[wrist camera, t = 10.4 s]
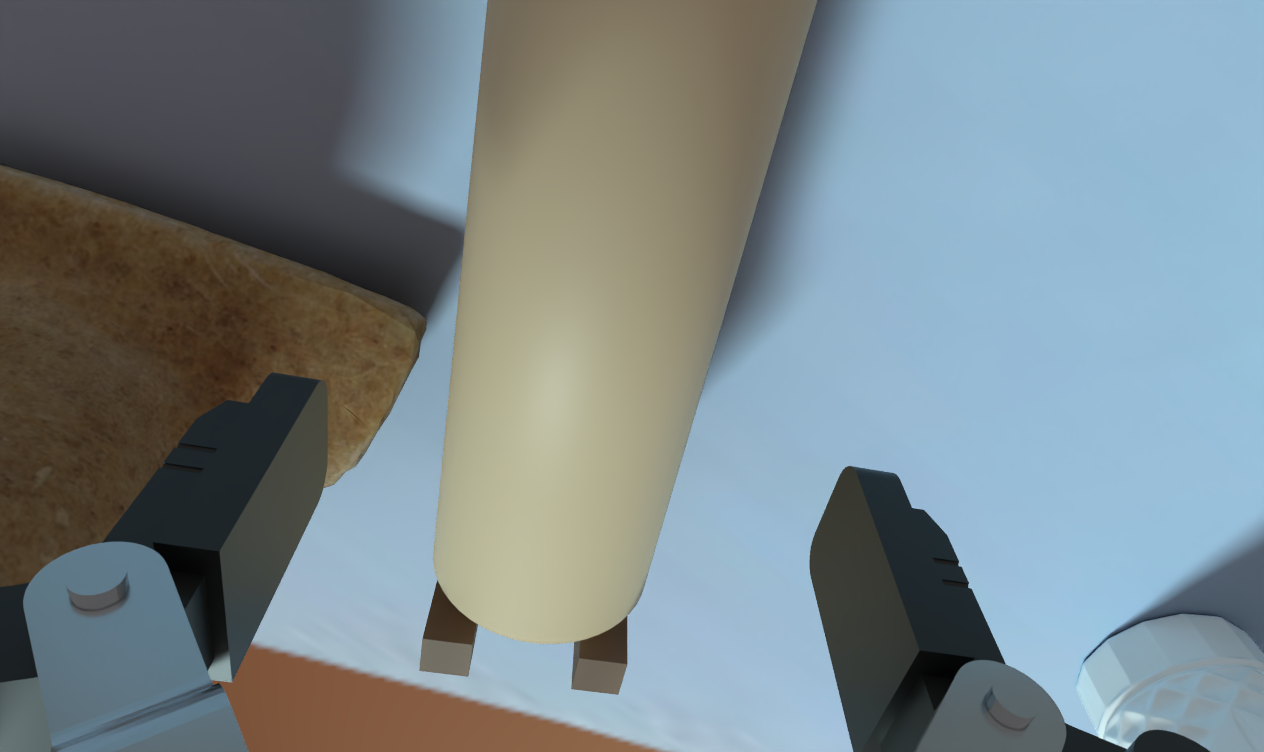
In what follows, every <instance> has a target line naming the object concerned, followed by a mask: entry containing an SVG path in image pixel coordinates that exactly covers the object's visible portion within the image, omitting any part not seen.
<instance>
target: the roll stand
mask: <svg viewBox="0 0 1264 752" xmlns="http://www.w3.org/2000/svg"><path fill="white" fill-rule="evenodd" d="M477 627H478V624H477V623H475V622H473V621H472V620H470V619H469V618H468V617H466V616H465V615H464V614H463V613H461V612H460V611H459V610H458V609H457V608H456V607H455V606H454V605H453V604H452V603H451V601H450V600H449V599H448V597H447V596H446V595H445V593H444V592H443V590H442V588H441V586H440V584H439V582H438V580H437V584H436V588H435V592H434V596H433V599H432V603H431V607H430V611H429V615H428V619H427V623H426V627H425V631H424V635H423V639H422V649H421V660H420V670H419V671H426V672H434V673H443V674H451V675H459V676H468V675H469V669H470V664H471V659H472V653H473V648H474V643H475V637H476V632H477ZM626 667H627V616H626V617H625V618H624V619H623V620H622V621H621V622H620V623H618V624H617V625H615V626H614V627H612V628H611V629H609V630H607V631H605V632H603V633H601V634H599V635H597V636H594V637H591V638H588V639H585V640H580V641H576V642H574V657H573V672H572V688H571V689H576V690H584V691H592V692H600V693H609V694H617V695H618V694H619V690H620V687H621V684H622V680H623V677H624V674H625V670H626Z"/></svg>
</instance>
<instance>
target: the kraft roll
mask: <svg viewBox="0 0 1264 752" xmlns="http://www.w3.org/2000/svg"><path fill="white" fill-rule="evenodd" d="M816 4H817V0H488V2H487V12H486V22H485V33H484V43H483V53H482V63H481V73H480V83H479V94H478V104H477V114H476V124H475V134H474V144H473V155H472V165H471V175H470V185H469V195H468V205H467V216H466V226H465V236H464V246H463V256H462V266H461V277H460V287H459V297H458V307H457V317H456V327H455V338H454V348H453V358H452V368H451V378H450V388H449V399H448V409H447V419H446V429H445V439H444V449H443V460H442V470H441V480H440V490H439V500H438V511H437V521H436V531H435V541H434V553H433V562H434V570H435V573H436V576H437V580H438V582H439V584H440V586H441V588H442V590H443V592H444V593H445V595H446V596H447V597H448V599H449V600H450V601H451V603H452V604H453V605H454V606H455V607H456V608H457V609H458V610H459V611H460V612H461V613H463V614H464V615H465V616H466V617H468V618H469V619H470V620H472V621H473V622H475V623H477V624H478V625H480V626H481V627H483V628H485V629H487V630H489V631H492V632H494V633H496V634H499V635H502V636H505V637H507V638H510V639H515V640H519V641H523V642H530V643H539V644H561V643H571V642H576V641H580V640H585V639H588V638H591V637H594V636H597V635H599V634H601V633H603V632H605V631H607V630H609V629H611V628H612V627H614V626H615V625H617V624H618V623H620V622H621V621H622V620H623V619H624V618H625V617H626V616H627V615H629V614H630V612H631V611H632V610H633V608H634V607H635V606H636V604H637V602H638V601H639V599H640V597H641V595H642V592H643V588H644V585H645V582H646V579H647V575H648V572H649V568H650V565H651V562H652V558H653V555H654V552H655V548H656V545H657V541H658V538H659V535H660V531H661V528H662V524H663V521H664V518H665V514H666V511H667V508H668V504H669V501H670V497H671V494H672V491H673V487H674V484H675V481H676V477H677V474H678V470H679V467H680V464H681V460H682V457H683V453H684V450H685V447H686V443H687V440H688V437H689V433H690V430H691V426H692V423H693V420H694V416H695V413H696V410H697V406H698V403H699V399H700V396H701V393H702V389H703V386H704V382H705V379H706V376H707V372H708V369H709V366H710V362H711V359H712V355H713V352H714V349H715V345H716V342H717V338H718V335H719V332H720V328H721V325H722V322H723V318H724V315H725V311H726V308H727V305H728V301H729V298H730V295H731V291H732V288H733V284H734V281H735V278H736V274H737V271H738V267H739V264H740V261H741V257H742V254H743V251H744V247H745V244H746V240H747V237H748V234H749V230H750V227H751V224H752V220H753V217H754V213H755V210H756V207H757V203H758V200H759V196H760V193H761V190H762V186H763V183H764V180H765V176H766V173H767V169H768V166H769V163H770V159H771V156H772V153H773V149H774V146H775V142H776V139H777V136H778V132H779V129H780V125H781V122H782V119H783V115H784V112H785V109H786V105H787V102H788V98H789V95H790V92H791V88H792V85H793V82H794V78H795V75H796V71H797V68H798V65H799V61H800V58H801V54H802V51H803V48H804V44H805V41H806V38H807V34H808V31H809V27H810V24H811V21H812V17H813V14H814V11H815V7H816Z"/></svg>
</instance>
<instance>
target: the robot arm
mask: <svg viewBox="0 0 1264 752" xmlns="http://www.w3.org/2000/svg"><path fill="white" fill-rule="evenodd" d="M327 462H328V392H327V385H326V382H325V381H324V380H318V379H312V378H306V377H299V376H293V375H287V374H281V373H274V372H272V373H270V374H269V375H268V376H267V377H266V379H265V380H264V382H263V383H262V385H261V386H260V388H259V389H258V390H257V392H256V393H255V395H254V396H253V398H252V399H251V401H250V402H249V403H245V402H238V401H232V400H226V401H225V402H223V403H221V404H220V405H218V406H216V407H215V408H213V409H211V410H210V411H208V412H206V413H205V414H203V415H202V416H200V417H198V418H197V419H196V420H195V421H194V423H193V424H192V425H191V426H190V428H189V429H188V430H187V432H186V433H185V434H184V436H183V437H182V438H181V440H180V441H179V442H178V447H177V448H175V447H174V449H173V450H172V451H171V453H170V454H169V455H168V457H167V458H166V459H165V461H164V462H163V466H162V468H158V470H157V471H156V472H155V474H154V475H153V476H152V478H151V479H150V480H149V482H148V483H147V484H146V485H145V487H144V488H143V489H142V491H141V492H140V493H139V495H138V496H137V497H136V499H135V500H134V501H133V502H132V504H131V505H130V506H129V508H128V509H127V510H126V512H125V513H124V514H123V516H122V517H121V518H120V520H119V521H118V522H117V523H116V525H115V526H114V527H113V529H112V530H111V531H110V533H109V534H108V535H107V537H106V538H105V539H104V541H103V542H102V543H97V544H93V545H88V546H85V547H82V548H78V549H75V550H73V551H71V552H68V553H66V554H64V555H62V556H60V557H58V558H57V559H55V560H53V561H52V562H50V563H49V564H48V565H46V566H45V567H44V568H42V569H41V570H40V571H39V572H38V573H37V574H36V575H35V576H34V578H33V579H32V580H31V582H29V583H25V584H19V585H12V586H4V587H0V752H249V751H248V748H247V746H246V743H245V741H244V738H243V736H242V733H241V730H240V728H239V726H238V723H237V720H236V718H235V715H234V712H233V710H232V707H231V705H230V702H229V700H228V697H227V695H226V693H225V691H224V689H223V687H222V686H221V685H220V684H219V683H218V684H216V685H213V683H212V681H211V680H217V681H225V682H232V681H233V679H234V677H235V675H236V673H237V671H238V669H239V666H240V664H241V663H242V660H243V658H244V656H245V654H246V652H247V650H248V648H249V646H250V644H251V642H252V640H253V638H254V636H255V633H256V631H257V629H258V627H259V625H260V623H261V621H262V619H263V617H264V615H265V613H266V611H267V608H268V606H269V604H270V602H271V600H272V598H273V596H274V594H275V592H276V590H277V588H278V586H279V583H280V581H281V579H282V577H283V575H284V573H285V571H286V569H287V567H288V565H289V563H290V560H291V558H292V556H293V554H294V552H295V550H296V548H297V546H298V544H299V542H300V540H301V538H302V535H303V533H304V531H305V529H306V527H307V525H308V523H309V521H310V519H311V517H312V515H313V513H314V510H315V508H316V506H317V504H318V502H319V500H320V497H321V494H322V491H323V487H324V483H325V478H326V472H327ZM958 563H959V560H958V558H957V556H956V554H955V552H954V549H953V547H952V545H951V543H950V541H949V538H948V536H947V535H946V534H945V532H944V531H943V530H942V529H941V528H940V527H939V526H938V525H937V524H936V523H935V522H934V520H933V519H932V518H931V517H930V516H929V515H928V514H927V513H926V512H925V511H924V510H921V509H914V508H912V507H911V505H910V502H909V500H908V497H907V495H906V493H905V490H904V488H903V486H902V483H901V481H900V479H899V477H898V476H897V475H896V474H895V473H889V472H883V471H877V470H871V469H865V468H858V467H852V466H848V467H846V468H845V469H844V470H843V471H842V473H841V474H840V476H839V479H838V481H837V483H836V486H835V488H834V490H833V493H832V495H831V497H830V500H829V502H828V504H827V507H826V509H825V511H824V514H823V516H822V518H821V521H820V523H819V525H818V528H817V530H816V532H815V535H814V538H813V541H812V545H811V551H810V574H811V579H812V583H813V587H814V591H815V596H816V600H817V604H818V608H819V612H820V616H821V620H822V624H823V628H824V633H825V637H826V641H827V645H828V649H829V653H830V657H831V661H832V665H833V670H834V674H835V678H836V682H837V686H838V690H839V694H840V698H841V702H842V707H843V711H844V715H845V719H846V723H847V727H848V731H849V735H850V739H851V744H852V748H853V752H1210V751H1209V750H1208V749H1206V748H1205V747H1203V746H1201V745H1200V744H1198V743H1197V742H1195V741H1193V740H1191V739H1189V738H1187V737H1185V736H1182V735H1180V734H1177V733H1174V732H1170V731H1166V730H1149V731H1146V732H1143V733H1142V734H1141V735H1139V736H1138V737H1137V738H1136V740H1135V741H1134V742H1133V743H1132V744H1131V745H1130V747H1129V748H1128V749H1126V748H1123V747H1121V746H1119V745H1116V744H1114V743H1111V742H1109V741H1106V740H1104V739H1101V738H1099V737H1097V736H1094V735H1092V734H1089V733H1087V732H1084V731H1082V730H1079V729H1077V728H1075V727H1072V726H1070V725H1068V724H1066V723H1065V722H1064V719H1063V717H1062V714H1061V712H1060V710H1059V708H1058V707H1057V705H1056V704H1055V702H1054V701H1053V700H1052V698H1051V697H1050V696H1049V695H1048V693H1047V692H1046V691H1045V690H1044V689H1043V688H1042V687H1041V686H1040V685H1038V684H1037V683H1036V682H1035V681H1034V680H1032V679H1031V678H1029V677H1028V676H1027V675H1025V674H1024V673H1022V672H1020V671H1018V670H1016V669H1015V668H1012V667H1010V666H1008V665H1006V664H1005V661H1004V659H1003V657H1002V655H1001V653H1000V650H999V648H998V646H997V644H996V642H995V640H994V637H993V635H992V633H991V631H990V629H989V626H988V624H987V622H986V620H985V618H984V615H983V613H982V611H981V609H980V607H979V604H978V602H977V600H976V598H975V596H974V593H973V591H972V589H970V588H968V584H969V582H968V580H967V578H966V576H965V574H964V571H963V569H962V567H960V566H958Z"/></svg>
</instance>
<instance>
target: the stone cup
mask: <svg viewBox="0 0 1264 752" xmlns="http://www.w3.org/2000/svg"><path fill="white" fill-rule="evenodd" d="M425 331H426V318H424V317H423V316H422V315H420V314H419V313H418V312H416V311H415V310H414V309H413V308H411V307H409V306H406V305H404V304H402V303H399V302H397V301H395V300H392V299H390V298H388V297H385V296H383V295H380V294H377V293H374V292H372V291H369V290H366V289H364V288H361V287H359V286H356V285H354V284H352V283H349V282H347V281H344V280H342V279H340V278H337V277H335V276H333V275H330V274H328V273H326V272H323V271H320V270H317V269H314V268H311V267H309V266H306V265H303V264H300V263H297V262H294V261H292V260H289V259H286V258H283V257H280V256H277V255H274V254H271V253H269V252H266V251H263V250H260V249H257V248H254V247H252V246H249V245H246V244H243V243H241V242H238V241H235V240H232V239H230V238H227V237H223V236H220V235H217V234H214V233H212V232H209V231H207V230H204V229H202V228H199V227H196V226H194V225H191V224H188V223H185V222H182V221H179V220H176V219H173V218H170V217H167V216H163V215H161V214H158V213H155V212H152V211H149V210H146V209H143V208H141V207H138V206H135V205H132V204H129V203H126V202H123V201H120V200H117V199H114V198H110V197H107V196H104V195H101V194H98V193H95V192H92V191H89V190H85V189H82V188H79V187H75V186H72V185H69V184H66V183H62V182H59V181H56V180H52V179H49V178H45V177H42V176H38V175H35V174H31V173H28V172H24V171H21V170H17V169H14V168H10V167H7V166H3V165H0V587H4V586H12V585H19V584H25V583H29V582H31V580H32V579H33V578H34V576H35V575H36V574H37V573H38V572H39V571H40V570H41V569H42V568H44V567H45V566H46V565H48V564H49V563H50V562H52V561H53V560H55V559H57V558H58V557H60V556H62V555H64V554H66V553H68V552H71V551H73V550H75V549H78V548H82V547H85V546H88V545H93V544H97V543H102V542H103V541H104V539H105V538H106V537H107V535H108V534H109V533H110V531H111V530H112V529H113V527H114V526H115V525H116V523H117V522H118V521H119V520H120V518H121V517H122V516H123V514H124V513H125V512H126V510H127V509H128V508H129V506H130V505H131V504H132V502H133V501H134V500H135V499H136V497H137V496H138V495H139V493H140V492H141V491H142V489H143V488H144V487H145V485H146V484H147V483H148V482H149V480H150V479H151V478H152V476H153V475H154V474H155V472H156V471H157V470H158V468H162V466H163V462H164V461H165V459H166V458H167V457H168V455H169V454H170V453H171V451H172V450H173V449H174V447H175V448H177V447H178V442H179V441H180V440H181V438H182V437H183V436H184V434H185V433H186V432H187V430H188V429H189V428H190V426H191V425H192V424H193V423H194V421H195V420H196V419H197V418H198V417H200V416H202V415H203V414H205V413H206V412H208V411H210V410H211V409H213V408H215V407H216V406H218V405H220V404H221V403H223V402H225V401H226V400H232V401H238V402H245V403H249V402H250V401H251V399H252V398H253V396H254V395H255V393H256V392H257V390H258V389H259V388H260V386H261V385H262V383H263V382H264V380H265V379H266V377H267V376H268V375H269V374H270V373H272V372H274V373H281V374H287V375H293V376H299V377H306V378H312V379H318V380H324V381H325V382H326V385H327V392H328V462H327V472H326V478H325V483H324V487H323V488H325V487H329V486H331V485H334V484H335V483H336V482H337V481H338V480H339V479H340V478H341V477H342V475H343V474H344V473H345V472H346V471H348V470H350V469H352V468H354V467H356V465H357V464H358V462H359V461H360V460H361V458H362V457H363V456H364V454H365V453H366V451H367V449H368V447H369V446H370V444H371V442H372V440H373V438H374V437H375V435H376V433H377V432H378V430H379V429H380V427H381V426H382V424H383V423H384V421H385V420H386V418H387V417H388V415H389V414H390V412H391V410H392V408H393V406H394V404H395V402H396V400H397V398H398V396H399V394H400V392H401V390H402V388H403V386H404V384H405V382H406V380H407V378H408V376H409V374H410V372H411V370H412V368H413V366H414V365H415V363H416V361H417V359H418V357H419V351H420V343H421V340H422V337H423V335H424V333H425Z"/></svg>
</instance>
